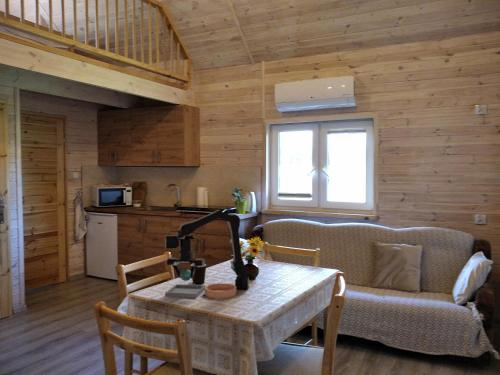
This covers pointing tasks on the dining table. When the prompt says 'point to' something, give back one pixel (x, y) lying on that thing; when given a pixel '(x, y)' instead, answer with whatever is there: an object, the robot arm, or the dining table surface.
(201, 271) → the coffee mug
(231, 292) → the bowl
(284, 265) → the dining table surface
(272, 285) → the dining table surface
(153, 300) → the dining table surface
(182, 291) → the tray
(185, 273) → the ball
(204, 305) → the dining table surface
